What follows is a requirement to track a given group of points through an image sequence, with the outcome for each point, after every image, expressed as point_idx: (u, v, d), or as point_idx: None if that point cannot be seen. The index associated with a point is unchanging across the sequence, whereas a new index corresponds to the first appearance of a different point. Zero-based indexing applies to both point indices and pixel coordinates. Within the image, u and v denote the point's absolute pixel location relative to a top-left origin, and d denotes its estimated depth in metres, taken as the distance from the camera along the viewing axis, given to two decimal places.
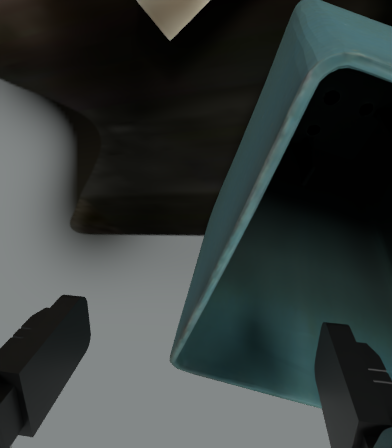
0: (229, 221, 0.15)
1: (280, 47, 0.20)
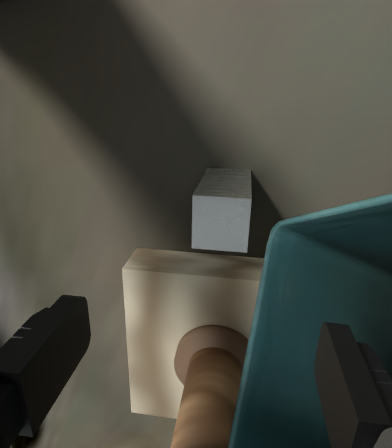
0: None
1: None
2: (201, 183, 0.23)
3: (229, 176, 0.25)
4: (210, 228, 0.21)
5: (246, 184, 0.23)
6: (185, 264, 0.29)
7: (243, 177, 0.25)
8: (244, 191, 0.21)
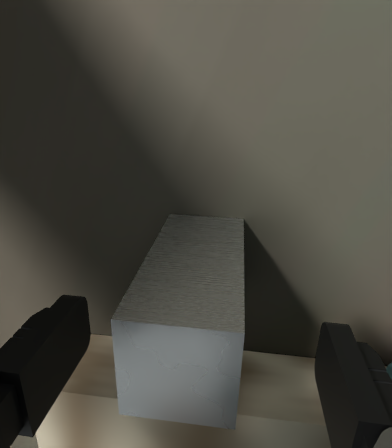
0: None
1: None
2: (145, 266, 0.12)
3: (204, 240, 0.14)
4: (154, 382, 0.10)
5: (234, 267, 0.12)
6: None
7: (229, 243, 0.13)
8: (228, 294, 0.10)
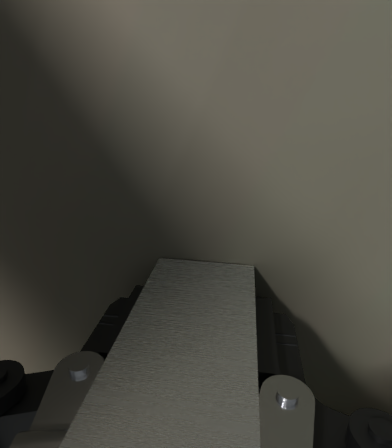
0: None
1: None
2: (113, 357, 0.08)
3: (201, 304, 0.10)
4: None
5: (243, 359, 0.08)
6: None
7: (236, 309, 0.10)
8: (235, 422, 0.06)
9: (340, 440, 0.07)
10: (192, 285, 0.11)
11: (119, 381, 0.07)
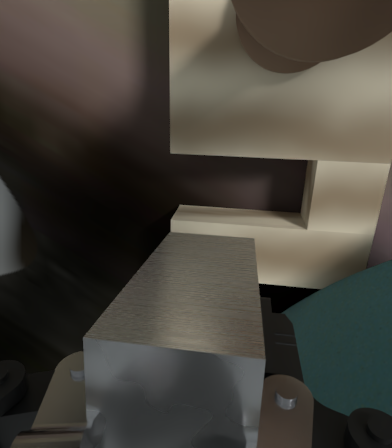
0: None
1: (356, 291, 0.24)
2: (136, 280, 0.09)
3: (209, 256, 0.12)
4: (139, 432, 0.07)
5: (246, 284, 0.09)
6: None
7: (239, 259, 0.11)
8: (241, 313, 0.08)
9: (339, 440, 0.07)
10: (200, 246, 0.12)
11: (142, 291, 0.09)
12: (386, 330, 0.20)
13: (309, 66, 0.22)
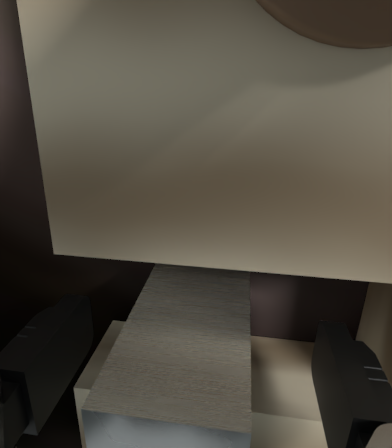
0: None
1: None
2: (131, 321, 0.10)
3: (203, 281, 0.12)
4: None
5: (239, 323, 0.10)
6: None
7: (233, 285, 0.12)
8: (231, 367, 0.08)
9: None
10: (195, 266, 0.13)
11: (137, 338, 0.09)
12: None
13: None
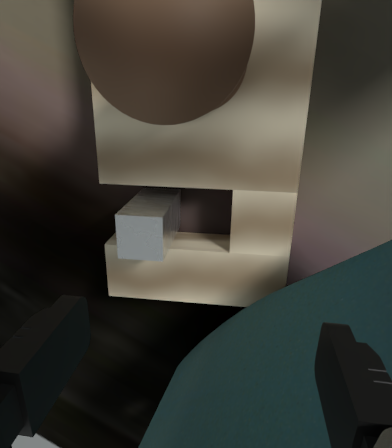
0: None
1: (268, 311, 0.26)
2: (129, 203, 0.27)
3: (157, 196, 0.29)
4: (131, 241, 0.25)
5: (167, 203, 0.27)
6: None
7: (169, 197, 0.29)
8: (161, 210, 0.26)
9: None
10: (155, 193, 0.30)
11: (131, 205, 0.27)
12: (280, 348, 0.22)
13: None
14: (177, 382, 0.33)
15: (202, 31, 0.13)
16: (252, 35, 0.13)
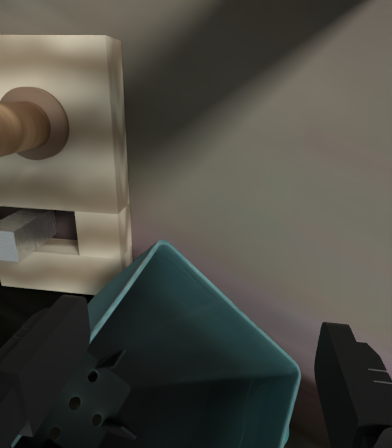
0: (105, 306, 0.26)
1: (95, 297, 0.37)
2: (2, 219, 0.38)
3: (29, 213, 0.40)
4: None
5: (29, 220, 0.38)
6: (115, 93, 0.34)
7: (37, 214, 0.40)
8: (18, 225, 0.37)
9: None
10: (31, 210, 0.41)
11: (1, 222, 0.38)
12: None
13: (47, 157, 0.35)
14: None
15: None
16: None
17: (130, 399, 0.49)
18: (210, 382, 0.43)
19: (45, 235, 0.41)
